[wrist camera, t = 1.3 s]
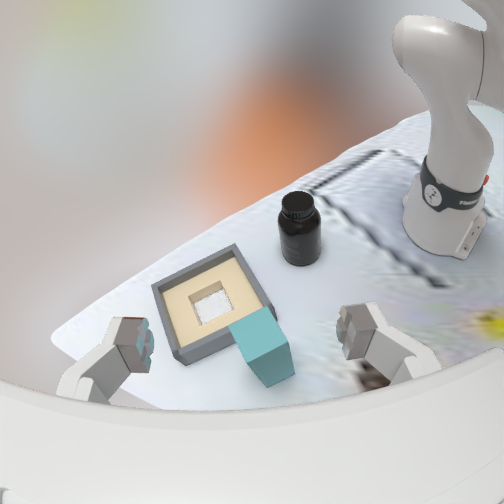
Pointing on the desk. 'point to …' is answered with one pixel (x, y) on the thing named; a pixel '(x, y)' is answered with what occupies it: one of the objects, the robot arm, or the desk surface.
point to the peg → (263, 346)
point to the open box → (197, 287)
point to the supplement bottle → (299, 228)
